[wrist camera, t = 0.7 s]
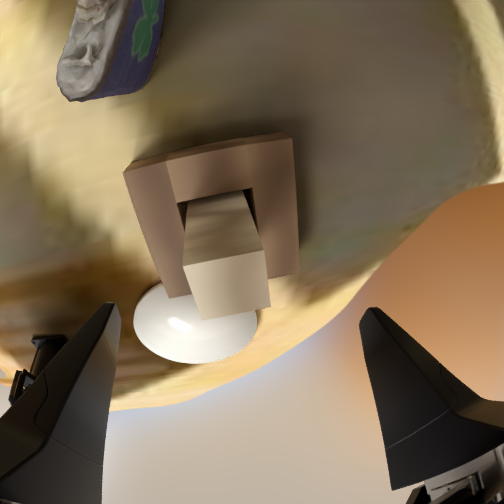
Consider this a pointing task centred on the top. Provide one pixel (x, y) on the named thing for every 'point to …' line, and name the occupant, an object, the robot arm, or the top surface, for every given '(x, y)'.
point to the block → (224, 256)
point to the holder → (211, 183)
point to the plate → (189, 329)
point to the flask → (110, 48)
